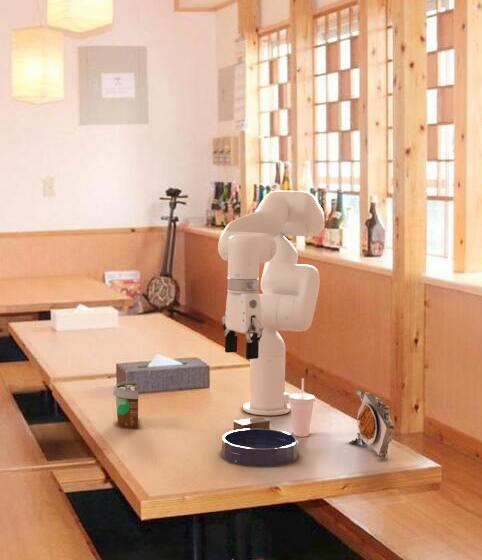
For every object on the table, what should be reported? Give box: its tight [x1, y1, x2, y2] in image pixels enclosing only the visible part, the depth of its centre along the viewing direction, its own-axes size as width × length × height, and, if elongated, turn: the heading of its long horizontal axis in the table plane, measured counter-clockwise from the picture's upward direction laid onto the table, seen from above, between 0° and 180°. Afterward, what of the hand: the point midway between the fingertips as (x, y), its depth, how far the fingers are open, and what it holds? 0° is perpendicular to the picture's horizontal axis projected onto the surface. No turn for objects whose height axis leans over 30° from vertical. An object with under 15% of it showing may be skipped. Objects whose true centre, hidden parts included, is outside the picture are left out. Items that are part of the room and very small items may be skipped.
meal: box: [348, 389, 395, 461], centre depth 245 cm, size 15×4×13 cm, turn 19°
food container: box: [112, 380, 139, 430], centre depth 267 cm, size 12×6×10 cm, turn 5°
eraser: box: [233, 416, 271, 431], centre depth 257 cm, size 8×4×4 cm, turn 120°
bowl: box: [221, 428, 299, 468], centre depth 241 cm, size 17×17×4 cm
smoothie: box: [289, 377, 316, 438], centre depth 259 cm, size 6×6×14 cm
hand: (241, 355), depth 256 cm, fingers open, 9 cm apart
